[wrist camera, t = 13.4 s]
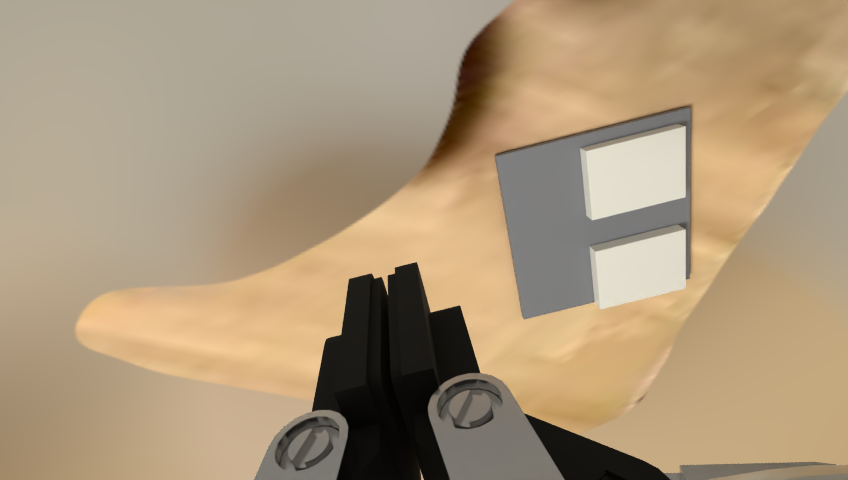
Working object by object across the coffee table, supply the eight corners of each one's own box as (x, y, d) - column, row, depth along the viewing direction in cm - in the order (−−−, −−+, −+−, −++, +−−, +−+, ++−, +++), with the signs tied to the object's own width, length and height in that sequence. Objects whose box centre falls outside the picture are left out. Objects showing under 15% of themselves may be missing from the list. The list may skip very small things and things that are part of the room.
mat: (494, 154, 38) (496, 156, 37) (686, 106, 37) (690, 107, 37) (522, 315, 44) (524, 319, 43) (686, 275, 44) (689, 278, 43)
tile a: (586, 151, 36) (685, 126, 36) (579, 147, 37) (675, 123, 37) (592, 220, 39) (685, 197, 38) (585, 215, 40) (676, 192, 40)
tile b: (595, 251, 40) (685, 229, 40) (588, 245, 41) (676, 223, 41) (600, 309, 42) (685, 288, 42) (594, 302, 43) (677, 281, 43)
